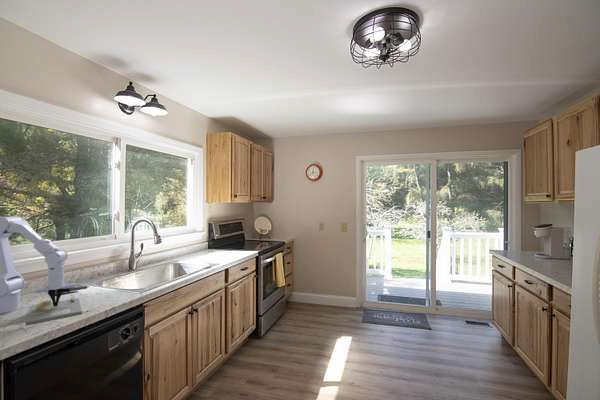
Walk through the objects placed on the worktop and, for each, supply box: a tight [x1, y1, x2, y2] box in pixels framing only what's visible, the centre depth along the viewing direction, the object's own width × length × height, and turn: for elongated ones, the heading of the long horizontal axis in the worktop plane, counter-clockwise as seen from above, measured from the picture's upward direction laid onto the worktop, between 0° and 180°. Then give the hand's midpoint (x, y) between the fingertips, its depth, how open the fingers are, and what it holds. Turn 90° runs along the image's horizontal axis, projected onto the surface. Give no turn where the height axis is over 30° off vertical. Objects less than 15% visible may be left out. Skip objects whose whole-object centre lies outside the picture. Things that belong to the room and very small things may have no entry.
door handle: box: [55, 285, 88, 297], centre depth 156 cm, size 3×20×16 cm
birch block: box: [35, 299, 52, 313], centre depth 126 cm, size 5×5×4 cm
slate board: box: [25, 296, 83, 327], centre depth 127 cm, size 18×23×3 cm
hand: (55, 305), depth 128 cm, fingers closed
